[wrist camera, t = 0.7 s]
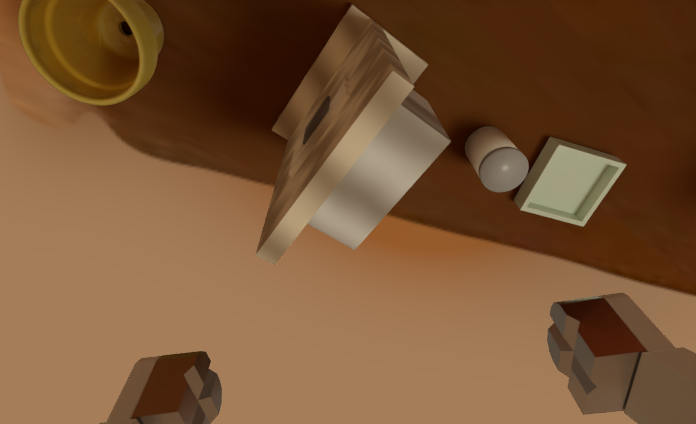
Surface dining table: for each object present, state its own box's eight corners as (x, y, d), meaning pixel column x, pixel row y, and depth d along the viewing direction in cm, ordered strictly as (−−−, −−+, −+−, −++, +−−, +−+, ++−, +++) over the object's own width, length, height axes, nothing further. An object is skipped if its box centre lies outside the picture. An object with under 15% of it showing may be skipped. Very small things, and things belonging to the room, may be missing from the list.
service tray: (549, 136, 51) (559, 144, 49) (615, 156, 52) (626, 164, 50) (513, 199, 55) (520, 209, 53) (574, 216, 57) (583, 226, 55)
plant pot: (64, 40, 44) (1, 60, 36) (98, -54, 40) (34, -56, 32) (158, 97, 48) (119, 127, 39) (198, 16, 43) (164, 31, 35)
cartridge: (495, 117, 50) (516, 140, 44) (513, 149, 52) (536, 175, 46) (456, 141, 51) (472, 167, 45) (476, 172, 53) (493, 200, 47)
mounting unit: (352, 3, 43) (361, 46, 23) (426, 62, 46) (490, 144, 26) (272, 126, 50) (228, 240, 30) (342, 170, 53) (343, 300, 33)
